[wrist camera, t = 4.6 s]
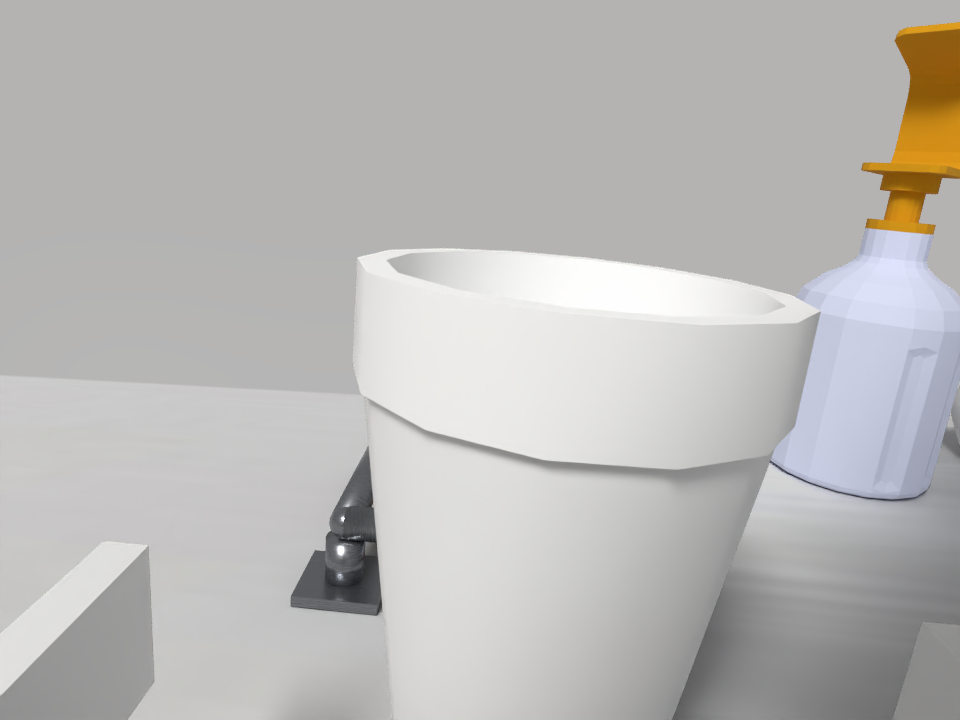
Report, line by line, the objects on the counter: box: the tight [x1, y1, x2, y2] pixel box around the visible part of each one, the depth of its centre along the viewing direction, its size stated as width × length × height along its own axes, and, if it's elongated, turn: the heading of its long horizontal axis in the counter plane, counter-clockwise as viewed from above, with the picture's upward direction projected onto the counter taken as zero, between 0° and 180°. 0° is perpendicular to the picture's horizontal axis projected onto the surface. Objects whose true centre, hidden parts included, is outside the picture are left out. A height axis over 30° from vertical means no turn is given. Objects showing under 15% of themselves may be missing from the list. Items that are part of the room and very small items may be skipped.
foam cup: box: [353, 248, 821, 720], centre depth 16 cm, size 10×9×13 cm
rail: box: [291, 445, 382, 615], centre depth 28 cm, size 13×12×3 cm
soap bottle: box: [771, 22, 960, 499], centre depth 37 cm, size 9×9×25 cm
